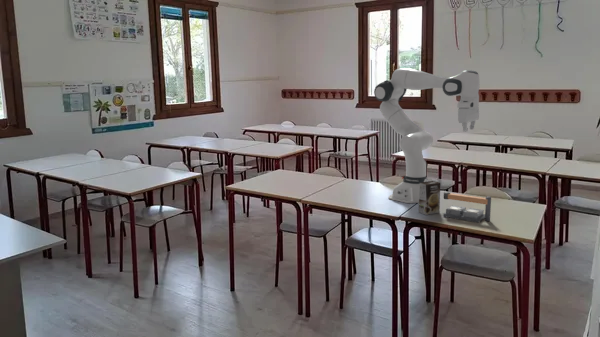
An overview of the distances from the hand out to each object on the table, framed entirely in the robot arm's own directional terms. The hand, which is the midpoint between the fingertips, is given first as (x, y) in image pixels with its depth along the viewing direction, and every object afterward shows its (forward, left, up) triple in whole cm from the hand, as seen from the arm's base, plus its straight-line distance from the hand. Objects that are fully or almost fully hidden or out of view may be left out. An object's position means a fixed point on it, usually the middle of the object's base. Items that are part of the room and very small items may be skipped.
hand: (468, 130), depth 258 cm
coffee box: (-15, -13, -43) cm, 47 cm away
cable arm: (+4, -11, -42) cm, 44 cm away
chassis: (+3, -11, -43) cm, 44 cm away
